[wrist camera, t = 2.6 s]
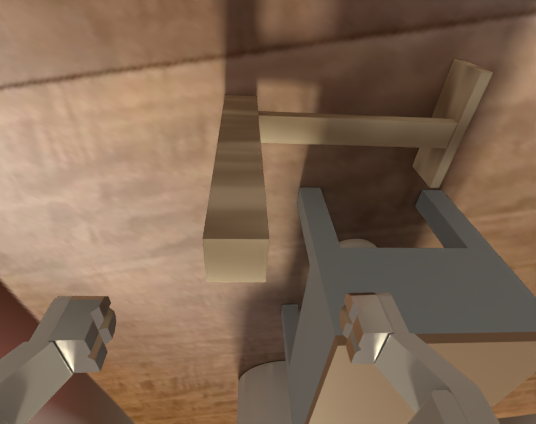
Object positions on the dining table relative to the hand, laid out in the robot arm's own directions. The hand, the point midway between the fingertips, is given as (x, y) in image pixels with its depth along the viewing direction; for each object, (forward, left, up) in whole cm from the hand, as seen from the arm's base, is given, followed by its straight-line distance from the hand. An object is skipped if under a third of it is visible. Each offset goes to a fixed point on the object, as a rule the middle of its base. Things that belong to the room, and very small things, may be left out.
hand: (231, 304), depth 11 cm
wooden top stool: (+17, +13, -18) cm, 27 cm away
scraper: (0, +8, -18) cm, 19 cm away
